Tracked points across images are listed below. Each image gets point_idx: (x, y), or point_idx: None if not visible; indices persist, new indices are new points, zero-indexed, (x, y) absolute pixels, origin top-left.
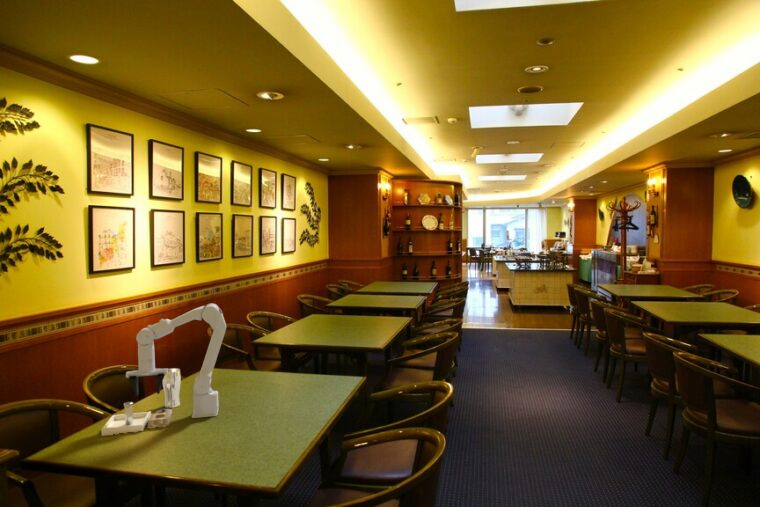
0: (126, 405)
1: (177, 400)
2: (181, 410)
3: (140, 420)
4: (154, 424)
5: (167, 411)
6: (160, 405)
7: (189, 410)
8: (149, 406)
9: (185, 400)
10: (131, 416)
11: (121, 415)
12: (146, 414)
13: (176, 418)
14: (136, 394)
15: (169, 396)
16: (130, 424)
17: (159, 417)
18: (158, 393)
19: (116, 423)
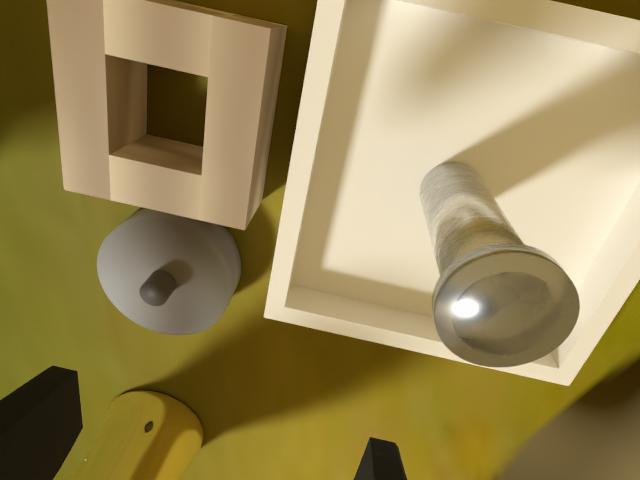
0: (540, 253)
1: (98, 434)
2: (74, 317)
3: (352, 230)
4: (213, 12)
5: (131, 270)
6: (232, 456)
7: (14, 290)
8: (298, 471)
9: None
10: (438, 203)
11: None
12: (302, 299)
13: None
14: (381, 457)
15: (126, 472)
16: (440, 165)
17: (179, 159)
18: (51, 370)
19: None
